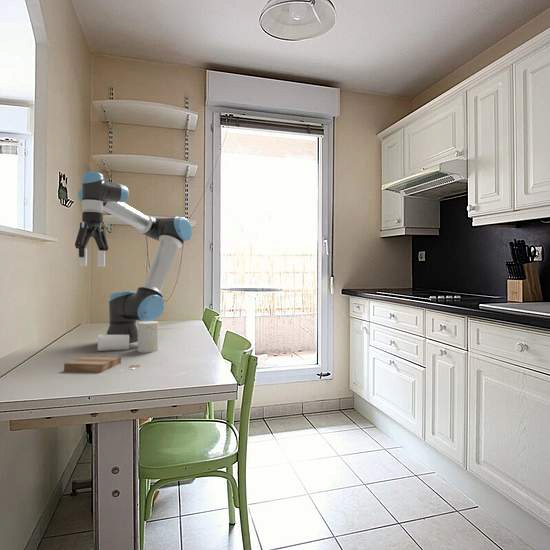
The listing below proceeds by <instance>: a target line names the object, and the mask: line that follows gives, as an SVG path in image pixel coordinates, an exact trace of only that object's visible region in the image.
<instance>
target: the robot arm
mask: <svg viewBox="0 0 550 550" xmlns="http://www.w3.org/2000/svg"><path fill="white" fill-rule="evenodd" d="M129 193H130V192H129V189H128V187H127V186H126V185H124V184H121V183H117V182H112V181H109V180H108V181H107V180H104V174H102V173H100V172H97V171H85V172H83V174H82V178H81V188H79V190H78V193H77V198H78V200H79V201H80V202H81V208H82V209H81V210H82V211H83V212H82V213H81V220H82V222H79V229H78V232H77V235H76V240H75V244H74V246H75V249H78V266H79V267H87V266H88V248H87V245H88V243H89V242H90V239H91V237H92V238H93V239H94V241H95V244H96V246H97V248H98V250H97V267H98V268H99V267H106V251H108V250H109V244H108V241H107V236H106V232H105V231H106V230H105V226H104V225H102V226H101V224H102V223H104V214H103V212H106V213H108V214H110V215H112V216H114V217H115V218H117V219H119V220H121V221H122V222H123V223H126V224H128V225H129V226H132V227H134V228H135V229H137V231H138V232H139V233H140V234H142V235H143V236H146V237H148V238H150V239H152V240H155V241H158V242H160V243H159V245H158V247H157V250H156V253H155V255H154V258H153V261H152V263H151V264H150V268H149V270H148V272H147V275H146V277H145V279H144V282H143V285H141V286H139V287H137V290H136V291H135V290H127V291H118V292H112V293H110V294H109V300H108V307H109V309H108V311H109V313H108V315H109V318H108V319H109V324H108V325H109V326H108V328H107V332H106V334H105V335H129V344H131V343H138V325H137V321H140V322H144V321H156V320H158V319H159V318H160V317H161V316H162V315H163V313H164V310H165V304H164V303H165V301H164V299H163V298H164V295H163V292H162V291H163V287H164V285H165V283H166V281H167V277H168V275H169V273H170V270H171V267H172V265H173V262H174V260H175V257H176V254H177V252H178V250H179V249H182V247H183V245H184V242H187V241H189V240H190V239H191V237H192V234H193V229H192V225H191V222H190V221H189V220H188V219H187V218H186V217H183V216H174V217H163V218H162V217H159V218H158V217H154V216H152V215H150V214H144V213H142V212H141V211H139V210H137V209H136V208H134V207H131V206H130V205H129V204H127V203H125V202H126V201H128V198H129Z"/></svg>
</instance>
